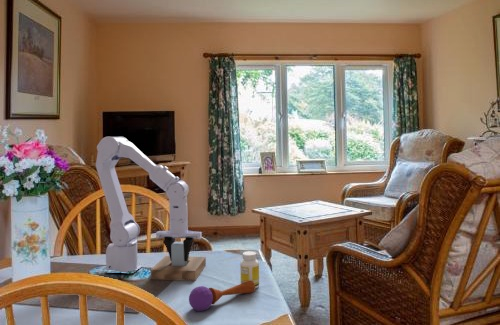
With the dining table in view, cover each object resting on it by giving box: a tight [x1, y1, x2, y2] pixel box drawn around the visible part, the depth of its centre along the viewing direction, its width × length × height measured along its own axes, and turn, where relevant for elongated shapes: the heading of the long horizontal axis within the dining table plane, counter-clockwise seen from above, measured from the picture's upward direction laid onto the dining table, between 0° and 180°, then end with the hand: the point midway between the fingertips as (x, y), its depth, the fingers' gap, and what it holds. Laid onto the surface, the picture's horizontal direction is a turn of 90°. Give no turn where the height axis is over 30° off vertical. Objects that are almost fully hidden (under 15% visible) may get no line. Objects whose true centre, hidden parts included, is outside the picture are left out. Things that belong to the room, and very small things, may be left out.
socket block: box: [150, 255, 207, 282], centre depth 128 cm, size 14×14×3 cm
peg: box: [171, 241, 187, 266], centre depth 127 cm, size 4×4×8 cm
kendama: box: [188, 280, 256, 312], centre depth 105 cm, size 6×6×20 cm
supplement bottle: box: [239, 250, 260, 289], centre depth 115 cm, size 5×5×10 cm
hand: (179, 260), depth 127 cm, fingers closed on peg, 4 cm apart
